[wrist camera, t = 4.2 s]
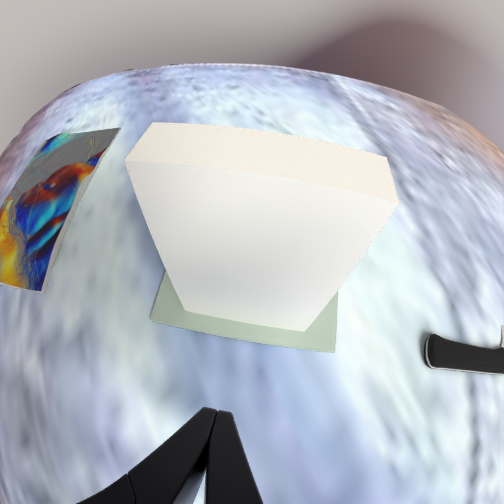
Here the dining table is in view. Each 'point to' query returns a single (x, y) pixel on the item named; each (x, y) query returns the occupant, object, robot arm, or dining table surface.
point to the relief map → (46, 205)
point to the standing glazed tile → (258, 217)
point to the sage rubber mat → (247, 324)
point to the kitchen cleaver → (463, 356)
